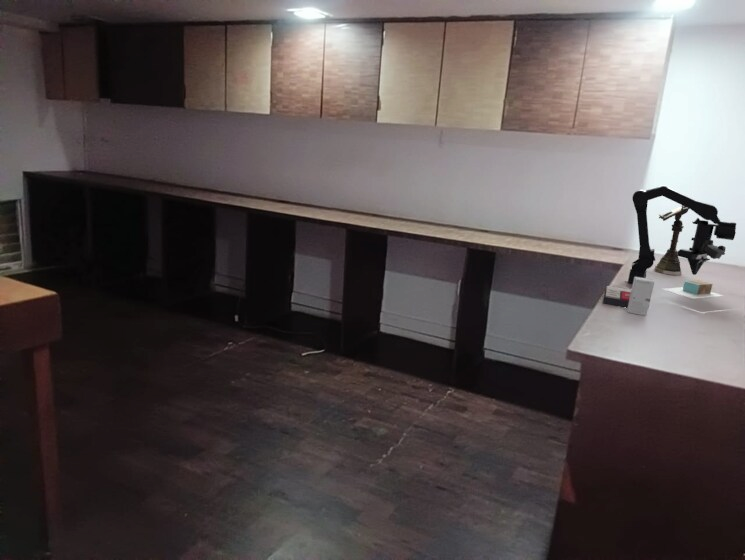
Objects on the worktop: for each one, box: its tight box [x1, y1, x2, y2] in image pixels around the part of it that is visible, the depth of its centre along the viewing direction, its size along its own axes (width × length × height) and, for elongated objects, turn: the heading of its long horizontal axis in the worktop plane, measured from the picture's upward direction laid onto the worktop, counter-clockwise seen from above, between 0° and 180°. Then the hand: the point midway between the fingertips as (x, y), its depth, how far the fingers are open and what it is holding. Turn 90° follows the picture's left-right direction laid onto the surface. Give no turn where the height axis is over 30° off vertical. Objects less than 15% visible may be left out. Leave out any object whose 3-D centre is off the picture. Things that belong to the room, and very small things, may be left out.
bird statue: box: [654, 205, 690, 276], centre depth 265 cm, size 17×13×35 cm
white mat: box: [662, 286, 724, 300], centre depth 231 cm, size 20×14×1 cm
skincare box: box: [626, 277, 655, 316], centre depth 195 cm, size 6×4×12 cm
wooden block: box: [682, 279, 713, 295], centre depth 232 cm, size 4×6×9 cm
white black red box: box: [602, 285, 632, 309], centre depth 209 cm, size 11×4×15 cm
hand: (694, 274), depth 229 cm, fingers closed
